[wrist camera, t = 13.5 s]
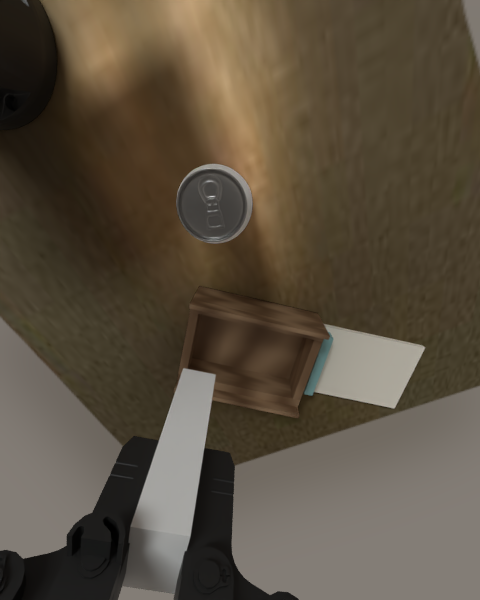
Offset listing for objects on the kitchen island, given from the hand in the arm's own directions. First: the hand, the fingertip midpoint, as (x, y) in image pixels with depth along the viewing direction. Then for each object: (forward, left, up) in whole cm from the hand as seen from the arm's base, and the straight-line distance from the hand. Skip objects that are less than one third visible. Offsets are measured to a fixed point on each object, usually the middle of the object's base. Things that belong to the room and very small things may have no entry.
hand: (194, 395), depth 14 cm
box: (+5, -10, -25) cm, 27 cm away
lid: (+21, -10, -26) cm, 34 cm away
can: (-2, +7, -25) cm, 27 cm away
